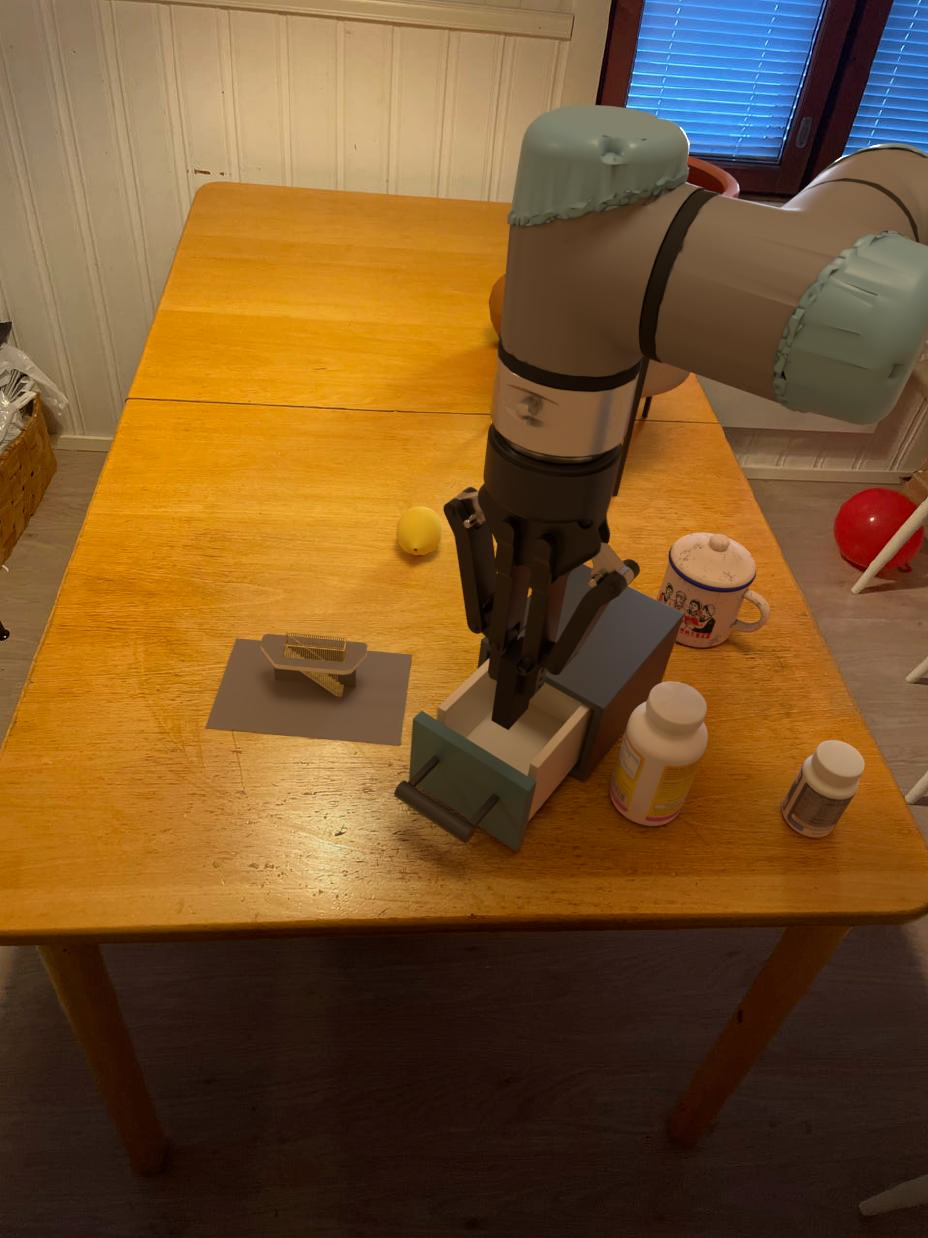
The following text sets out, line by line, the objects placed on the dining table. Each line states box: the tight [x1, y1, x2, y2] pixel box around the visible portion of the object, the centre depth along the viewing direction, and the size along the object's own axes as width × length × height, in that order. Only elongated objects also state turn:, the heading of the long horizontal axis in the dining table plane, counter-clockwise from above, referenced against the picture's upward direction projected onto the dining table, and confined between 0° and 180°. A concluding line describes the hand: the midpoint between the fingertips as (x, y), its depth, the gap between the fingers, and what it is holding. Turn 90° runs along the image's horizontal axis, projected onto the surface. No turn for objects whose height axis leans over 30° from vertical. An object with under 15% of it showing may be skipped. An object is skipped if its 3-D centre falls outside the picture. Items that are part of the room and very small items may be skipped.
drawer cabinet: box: [476, 563, 684, 783], centre depth 84 cm, size 16×13×10 cm
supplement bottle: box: [608, 680, 709, 827], centre depth 75 cm, size 7×7×13 cm
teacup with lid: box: [656, 532, 771, 648], centre depth 93 cm, size 12×9×12 cm
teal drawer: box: [393, 659, 595, 851], centre depth 75 cm, size 19×11×8 cm, turn 144°
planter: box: [612, 155, 740, 497], centre depth 112 cm, size 24×25×35 cm
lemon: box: [395, 505, 444, 556], centre depth 101 cm, size 7×5×5 cm
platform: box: [204, 631, 413, 746], centre depth 83 cm, size 12×18×7 cm, turn 87°
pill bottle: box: [781, 739, 866, 838], centre depth 76 cm, size 5×5×8 cm
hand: (509, 714), depth 64 cm, fingers closed
